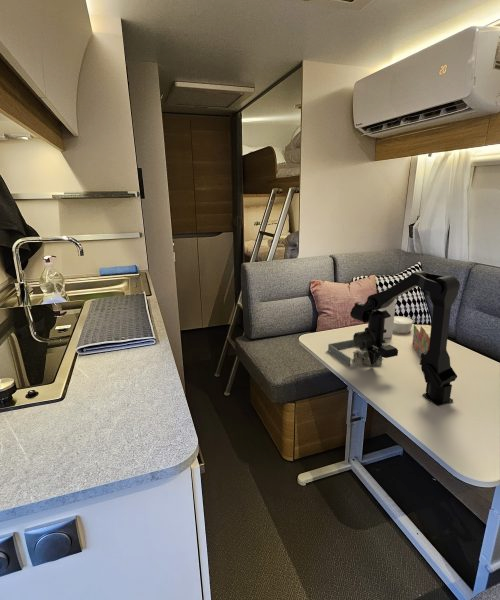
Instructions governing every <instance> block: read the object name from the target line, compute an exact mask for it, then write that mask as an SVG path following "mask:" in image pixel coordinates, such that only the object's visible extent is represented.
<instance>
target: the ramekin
mask: <svg viewBox="0 0 500 600" xmlns="http://www.w3.org/2000/svg"><path fill="white" fill-rule="evenodd" d="M413 324H414V320H413V319H412V318H410V317H406V316H400V315H399V316H397V315H394V324H393V333H397V334H407V333H409V332H410V331H411V329H412V327H413Z"/></svg>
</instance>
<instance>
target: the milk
mask: <svg viewBox="0 0 500 600" xmlns="http://www.w3.org/2000/svg"><path fill="white" fill-rule="evenodd" d="M385 290H387V289H386V288H385ZM385 290H384V291H385ZM396 303H397V298H396V299H395V300H394V301H393V303H391V304H390V305H389V306H388V307H386V308H382V309H379V310H380V311H385V310H387V312H388V313H389V314H390V315H391V317H389V318H385V325H384V329H386V333H384V335H383V339H392V338H393V333H394V332H393V324H394V316H395V313H396V312H395V311H396Z"/></svg>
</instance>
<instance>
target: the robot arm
mask: <svg viewBox="0 0 500 600" xmlns="http://www.w3.org/2000/svg"><path fill="white" fill-rule="evenodd" d="M416 287H419V289H421V290H423V291H424V292H425V291H426V292H428V297H429V299H430V302H431V304H432V314H431V324H430V326H431V333H430V343H429V349H428V351H426V352H423V353H421V357H420V363H419V365H420V367H421V369H420V370H421V372H422V373H423V377H424V382H425V383H426V386H425V387H426V388H425V392H424V393H422V396H423V397H424V398H426V399H427V400H429V401H430V402H432V403H433V404H435V405H436V406H442V405H446V404H449V403H453V402H454V399H453V398H451V394H452V388H453V385H452V382H455V381H456V379H457V378H458V375H457V373H456V372H455V371H454V369H453V367H452V366H451V357H450V355H449V352H448V351H447V347H448V346H447V345H448V336H449V327H450V319H451V310H452V305H453V304H454V302H455V301H456V299H457V297H458V294H459V291H460V289H461V283H460V281H459V280H458V278H456V277H455V276H453V275H441V274H437V273H429V272H426V271H424V270H419V271H415V272H412V273H410V275H409V276H407V277H405V278H404V279H402V280H400V281H398V282H397V283H395V284H393V285H392V286H390V287H388V288H387V289H386V290H382V291H378V292H376V293H373V294H370V295H368V296H367V298H366V299H367V300H366V301H365V303H362V302H355V303H354V306H352V308H351V310H350V313H349V314H350V318H352V319H353V320H356V321H359V322H361V323H367V327H365V328H364V331H357V332H355V333H354V334H353V335H352V340H354V344H355V346H354V347H357V348H358V350H364V349H366V350H367V352H368V355H369V358H370V362H371V365H376V364H375V363H376V361H377V360H378V358H379V357H380V356H382V358H383V359H384V358H385V359H388V358H394V357H397V356H398V354H399V350H398V348H397V347H395V346H394V345H391V344H385V343H386V339H385V338H383V335H384V333H386V329H384V325H385V318H389V317H391V315H390V314H389V313H388V312H387V310H385V311H380V310H379V309H382V308H386V307H388V306H389V305H390V304H391V303H393V301H394V300H395V299H396V300H397V299H398V297H400V296H402V295H404V294H407V293H408V292H409V291H411V290H413V289H415V288H416ZM366 350H365V351H366Z"/></svg>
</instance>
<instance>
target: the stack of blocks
mask: <svg viewBox="0 0 500 600" xmlns="http://www.w3.org/2000/svg"><path fill="white" fill-rule="evenodd" d="M430 333H431V325H430V324H414V325H413V334H412V335H413V336H412V345H413V347H414V349H415V351H416V352H417V353H418V356H419V357H420V358H421V353H423V352H426V351H428V349H429V343H430Z"/></svg>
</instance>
